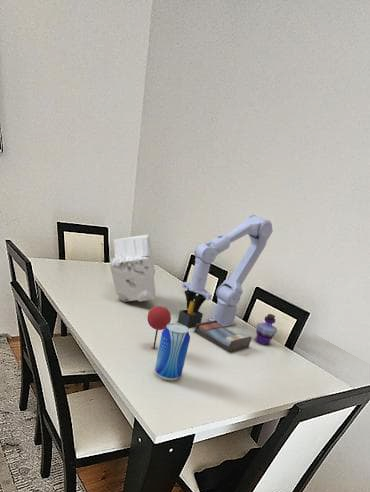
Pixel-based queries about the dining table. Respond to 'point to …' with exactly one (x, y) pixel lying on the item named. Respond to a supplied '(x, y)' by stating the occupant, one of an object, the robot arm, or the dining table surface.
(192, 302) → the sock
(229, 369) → the dining table surface
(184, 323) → the bin
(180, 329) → the beer can
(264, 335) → the potion bottle
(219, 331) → the bed
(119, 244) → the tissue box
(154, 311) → the lollipop
